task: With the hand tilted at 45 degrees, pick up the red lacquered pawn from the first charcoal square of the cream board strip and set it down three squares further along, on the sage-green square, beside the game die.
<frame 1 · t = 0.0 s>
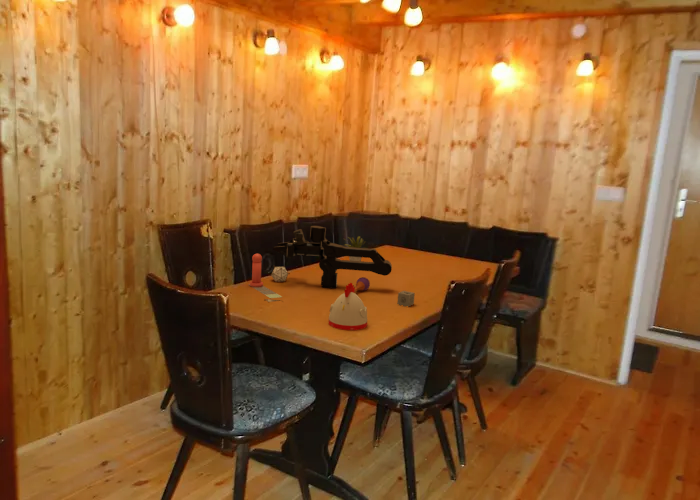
hand: (275, 246, 254), 17 cm above the table, fingers open, 9 cm apart
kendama: (356, 294, 246), on the table
game die: (279, 283, 256), on the table
house plant: (354, 265, 305), on the table
kitchen timer: (347, 324, 203), on the table
board: (264, 292, 238), on the table
grey symbol cube: (405, 305, 233), on the table
pawn: (256, 285, 245), point 1 cm above the table, touching board
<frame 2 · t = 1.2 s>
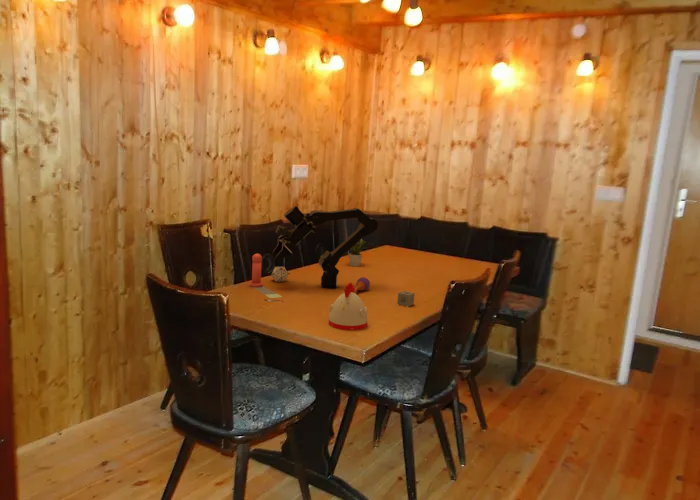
hand: (273, 257, 245), 13 cm above the table, fingers open, 9 cm apart
nothing on the table moved.
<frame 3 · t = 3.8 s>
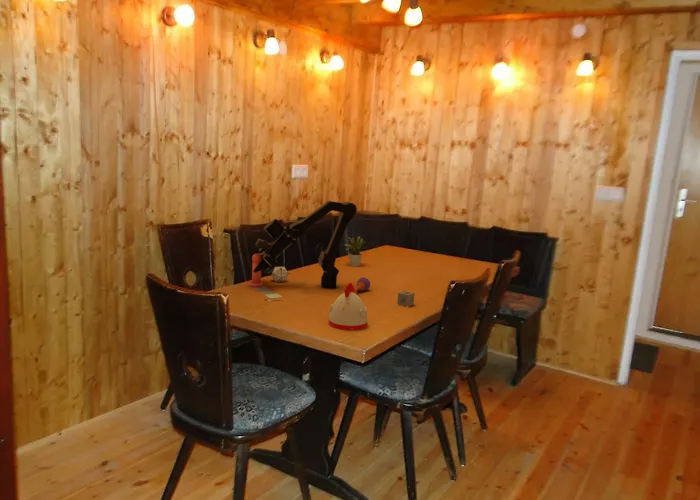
hand: (253, 270, 244), 8 cm above the table, fingers closed on pawn, 4 cm apart
pawn: (256, 285, 245), point 1 cm above the table, touching board, gripper
everything else where it was.
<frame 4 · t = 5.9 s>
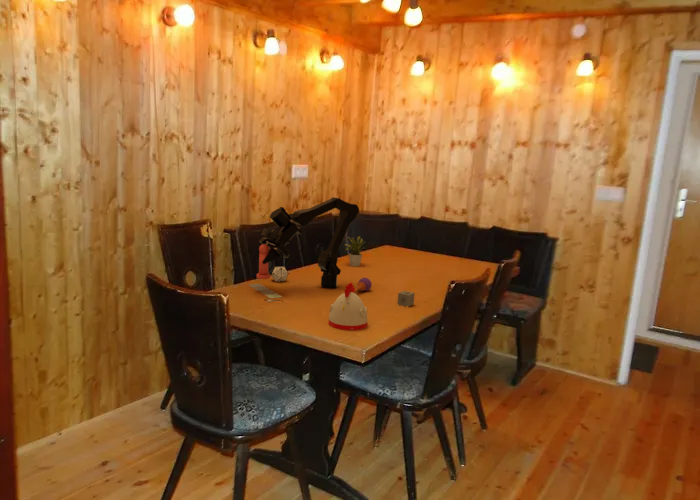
hand: (260, 262, 233), 13 cm above the table, fingers closed on pawn, 4 cm apart
pawn: (263, 277, 235), point 7 cm above the table, touching gripper
everything else where it was.
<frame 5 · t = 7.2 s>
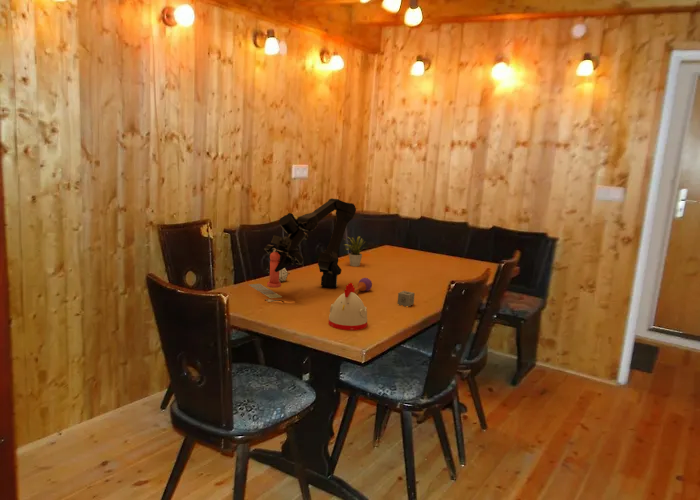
hand: (272, 270, 228), 12 cm above the table, fingers closed on pawn, 4 cm apart
pawn: (274, 285, 230), point 5 cm above the table, touching gripper
everything else where it was.
when the fingers open (9 cm above the table, at t = 8.1 s): pawn drops 1 cm, resting on board.
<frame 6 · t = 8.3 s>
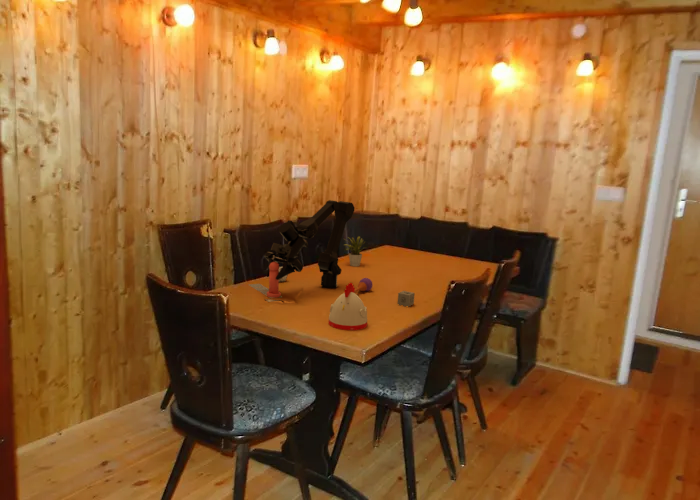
hand: (271, 277, 228), 9 cm above the table, fingers open, 6 cm apart
pawn: (273, 295, 230), point 1 cm above the table, touching board
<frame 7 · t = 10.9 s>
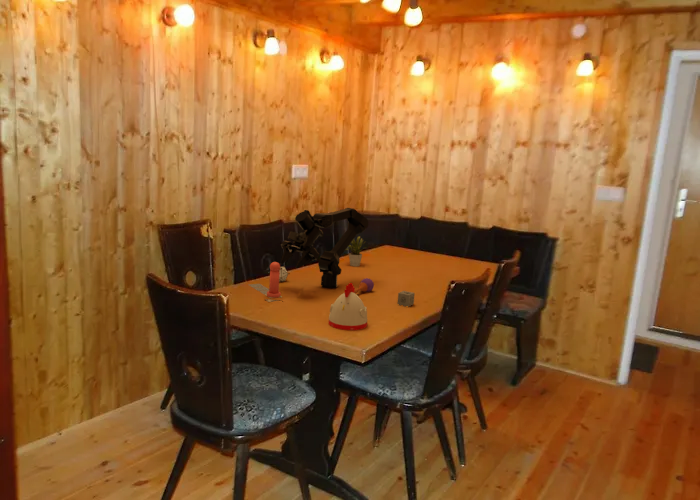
hand: (288, 265, 234), 13 cm above the table, fingers open, 9 cm apart
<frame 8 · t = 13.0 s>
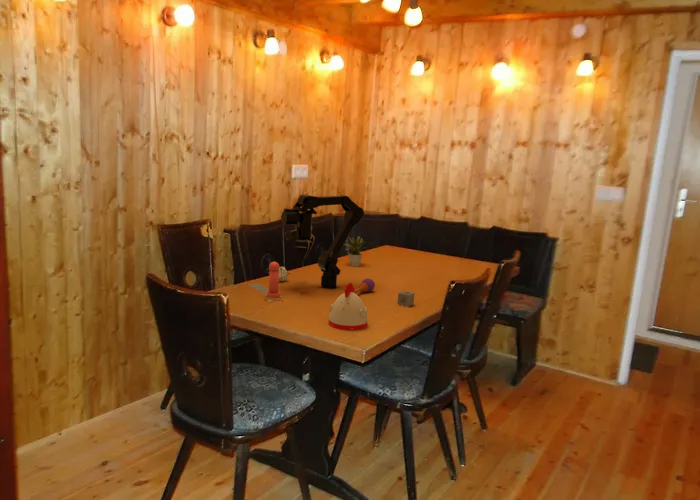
hand: (303, 259, 245), 13 cm above the table, fingers open, 9 cm apart
at the end: pawn 0.1 cm from the target spot, point 1.0 cm above the table; pawn tilted 1°; the gripper is holding nothing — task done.
